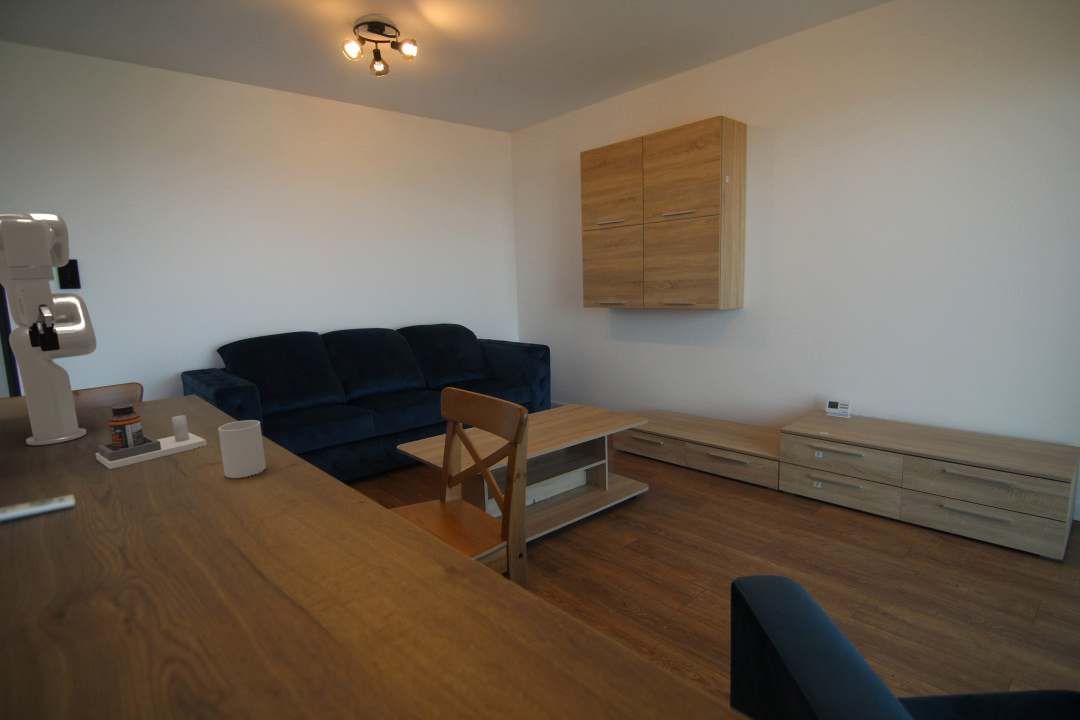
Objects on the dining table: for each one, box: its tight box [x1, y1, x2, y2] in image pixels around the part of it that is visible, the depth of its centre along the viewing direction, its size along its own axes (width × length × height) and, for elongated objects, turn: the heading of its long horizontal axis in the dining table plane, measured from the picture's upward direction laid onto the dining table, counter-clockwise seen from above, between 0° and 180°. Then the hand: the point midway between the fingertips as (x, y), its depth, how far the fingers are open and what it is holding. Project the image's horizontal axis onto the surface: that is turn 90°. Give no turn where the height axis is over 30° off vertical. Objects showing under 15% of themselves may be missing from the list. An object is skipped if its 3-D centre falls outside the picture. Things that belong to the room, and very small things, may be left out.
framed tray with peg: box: [95, 414, 207, 470], centre depth 135 cm, size 12×20×8 cm, turn 140°
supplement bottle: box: [108, 403, 144, 451], centre depth 131 cm, size 6×6×11 cm
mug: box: [218, 419, 266, 479], centre depth 119 cm, size 12×8×10 cm, turn 48°
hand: (45, 348), depth 128 cm, fingers open, 9 cm apart
